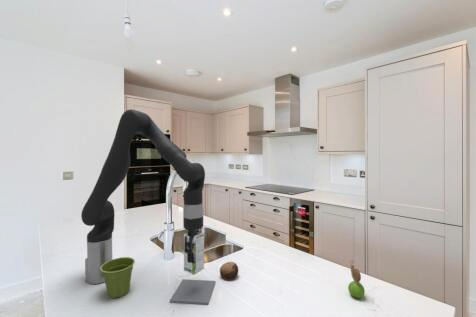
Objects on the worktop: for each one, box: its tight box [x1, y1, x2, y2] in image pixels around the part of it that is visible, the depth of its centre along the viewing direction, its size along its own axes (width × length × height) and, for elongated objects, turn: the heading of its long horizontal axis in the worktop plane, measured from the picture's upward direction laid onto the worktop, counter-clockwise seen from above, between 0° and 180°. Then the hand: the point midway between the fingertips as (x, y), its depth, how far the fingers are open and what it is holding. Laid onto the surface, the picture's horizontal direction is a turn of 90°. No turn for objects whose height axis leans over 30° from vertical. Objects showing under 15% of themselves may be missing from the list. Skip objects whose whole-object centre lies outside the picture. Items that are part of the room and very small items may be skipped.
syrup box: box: [183, 231, 205, 276], centre depth 88 cm, size 6×6×14 cm
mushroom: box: [219, 261, 239, 281], centre depth 100 cm, size 8×8×6 cm
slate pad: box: [169, 278, 217, 306], centre depth 89 cm, size 14×14×1 cm
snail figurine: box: [347, 260, 365, 299], centre depth 86 cm, size 5×6×12 cm
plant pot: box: [100, 256, 136, 299], centre depth 88 cm, size 12×12×11 cm
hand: (193, 257), depth 89 cm, fingers closed on syrup box, 7 cm apart
